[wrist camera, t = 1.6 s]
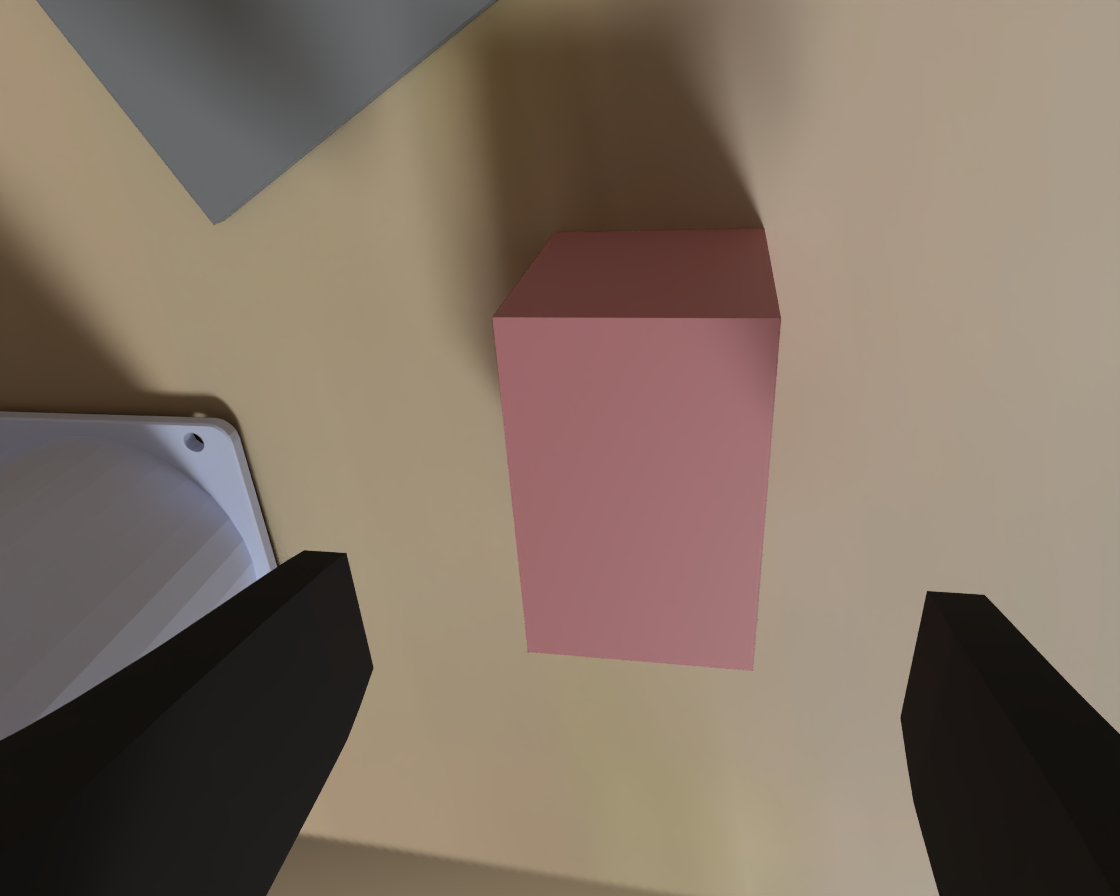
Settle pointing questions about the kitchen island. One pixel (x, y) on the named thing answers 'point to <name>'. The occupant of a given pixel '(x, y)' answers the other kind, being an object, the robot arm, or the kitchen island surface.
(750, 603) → the card box
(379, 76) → the mat
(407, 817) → the kitchen island surface
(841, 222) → the kitchen island surface
